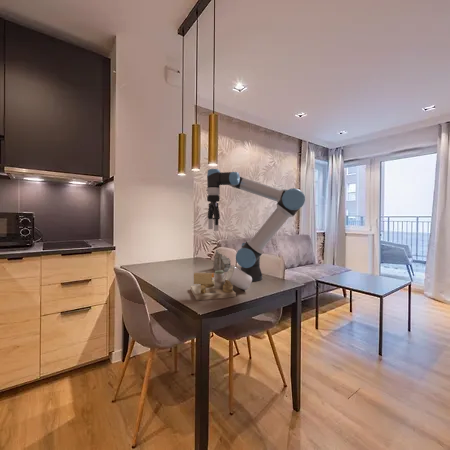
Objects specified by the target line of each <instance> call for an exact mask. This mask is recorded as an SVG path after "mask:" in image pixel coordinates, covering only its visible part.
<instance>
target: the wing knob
mask: <svg viewBox="0 0 450 450" xmlns="http://www.w3.org/2000/svg"><path fill="white" fill-rule="evenodd" d="M214 273H215V272H194V273H193V284H194V285H201V293H206V284H212V280H213V278H214Z"/></svg>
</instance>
